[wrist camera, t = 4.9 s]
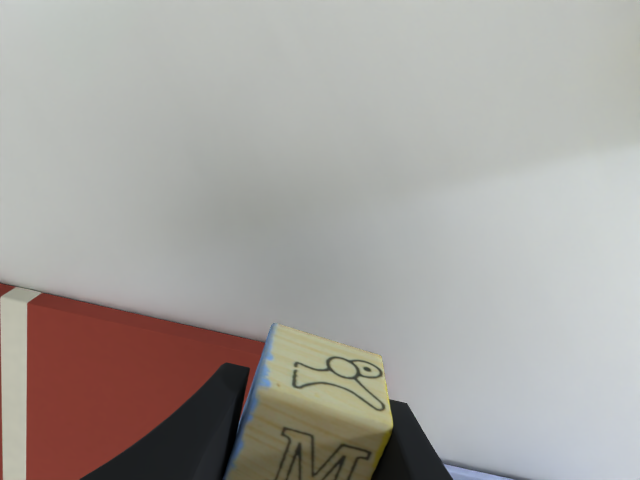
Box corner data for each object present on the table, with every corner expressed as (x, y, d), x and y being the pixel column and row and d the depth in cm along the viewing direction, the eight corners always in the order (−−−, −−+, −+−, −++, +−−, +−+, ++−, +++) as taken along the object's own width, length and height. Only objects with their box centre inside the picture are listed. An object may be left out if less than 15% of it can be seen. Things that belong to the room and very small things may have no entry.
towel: (383, 367, 20) (384, 382, 19) (326, 548, 23) (325, 569, 22) (-33, 274, 20) (-54, 285, 19) (-25, 472, 23) (-42, 489, 22)
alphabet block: (274, 315, 12) (252, 387, 9) (385, 350, 12) (396, 432, 10) (243, 405, 13) (215, 496, 10) (346, 437, 13) (346, 535, 11)
